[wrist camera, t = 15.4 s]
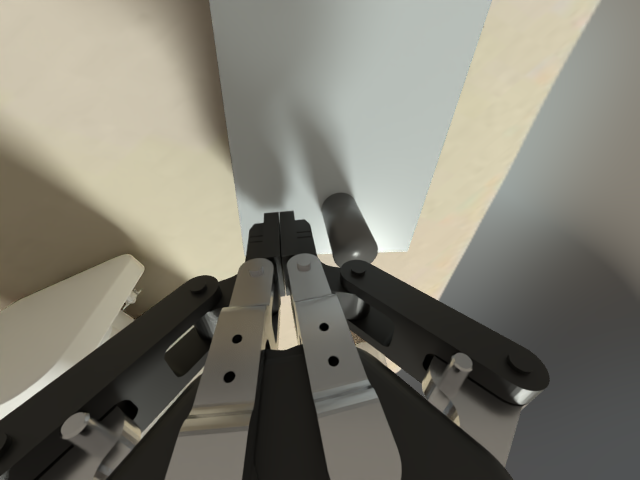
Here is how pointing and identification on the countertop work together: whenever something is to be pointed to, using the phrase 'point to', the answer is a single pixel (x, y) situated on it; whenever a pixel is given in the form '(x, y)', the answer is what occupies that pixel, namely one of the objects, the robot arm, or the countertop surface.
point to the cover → (341, 111)
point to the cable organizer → (65, 328)
